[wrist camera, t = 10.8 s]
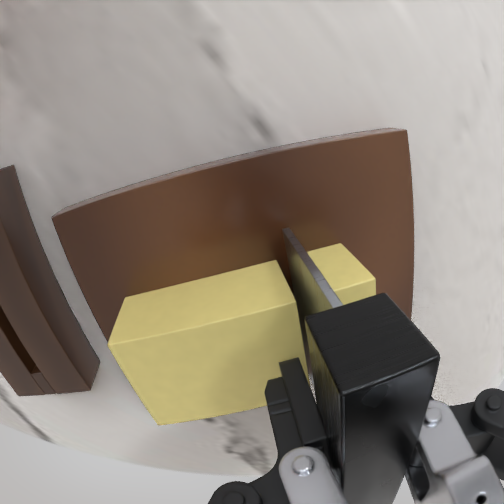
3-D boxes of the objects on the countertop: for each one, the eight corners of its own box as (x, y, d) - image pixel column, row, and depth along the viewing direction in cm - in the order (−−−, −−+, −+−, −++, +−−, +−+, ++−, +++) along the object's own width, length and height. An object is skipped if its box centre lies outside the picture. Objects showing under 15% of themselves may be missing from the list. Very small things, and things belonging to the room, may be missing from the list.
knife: (292, 379, 16) (340, 528, 8) (258, 222, 13) (339, 395, 5) (327, 369, 17) (390, 510, 8) (307, 210, 13) (442, 354, 5)
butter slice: (311, 339, 16) (333, 387, 13) (298, 253, 14) (324, 293, 11) (348, 328, 16) (375, 373, 13) (340, 242, 14) (376, 277, 11)
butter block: (163, 375, 16) (158, 426, 13) (124, 297, 14) (106, 345, 11) (293, 345, 16) (311, 394, 13) (276, 258, 14) (296, 301, 11)
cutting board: (150, 391, 18) (148, 408, 17) (63, 208, 13) (50, 217, 12) (398, 326, 19) (409, 339, 17) (390, 127, 14) (407, 129, 13)
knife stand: (31, 371, 17) (18, 396, 14) (-52, 203, 12) (-78, 216, 10) (100, 361, 17) (90, 391, 15) (14, 164, 12) (-14, 173, 10)
